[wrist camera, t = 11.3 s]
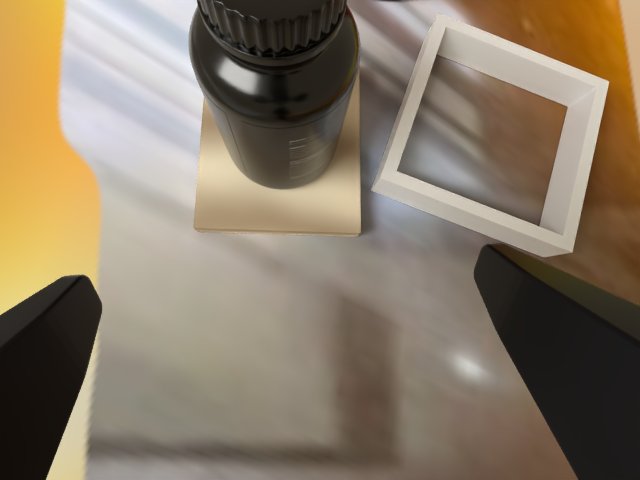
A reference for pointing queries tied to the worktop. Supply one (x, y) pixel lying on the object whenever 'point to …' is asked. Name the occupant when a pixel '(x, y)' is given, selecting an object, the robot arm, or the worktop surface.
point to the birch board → (280, 205)
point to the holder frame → (527, 73)
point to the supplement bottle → (276, 82)
